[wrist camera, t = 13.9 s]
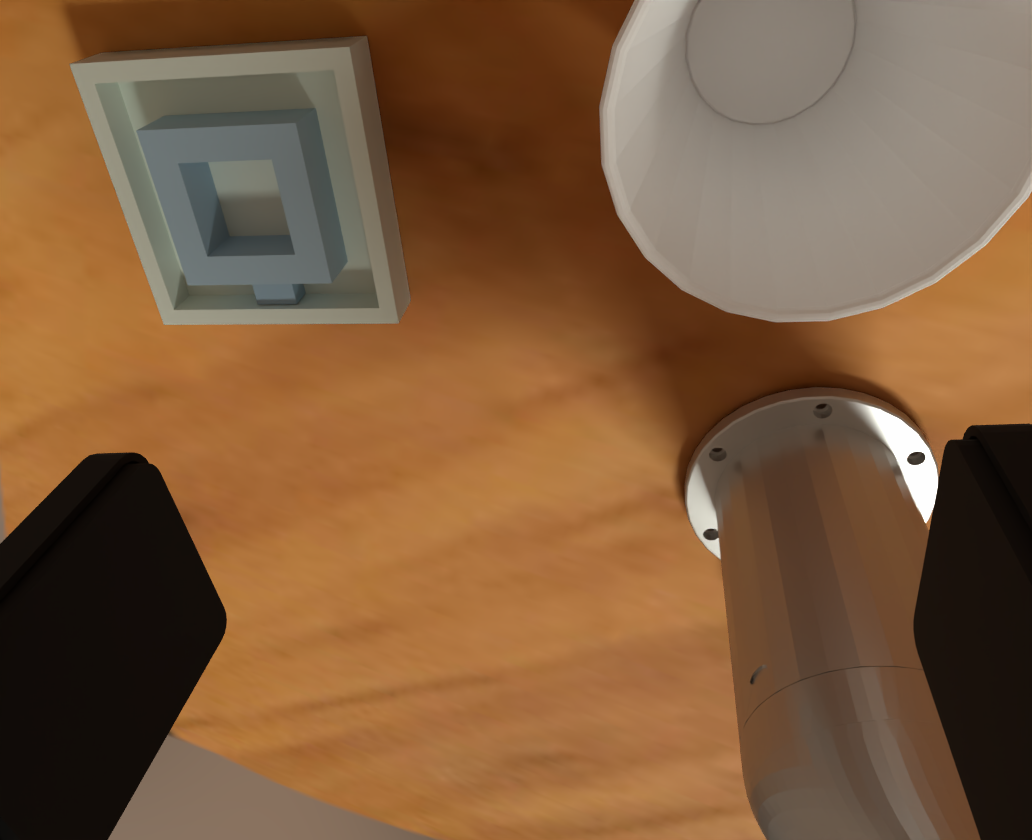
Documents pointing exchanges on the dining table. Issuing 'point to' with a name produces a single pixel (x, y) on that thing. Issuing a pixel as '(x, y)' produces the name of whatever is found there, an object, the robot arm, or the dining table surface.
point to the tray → (255, 169)
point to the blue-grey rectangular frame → (198, 214)
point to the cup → (816, 145)
